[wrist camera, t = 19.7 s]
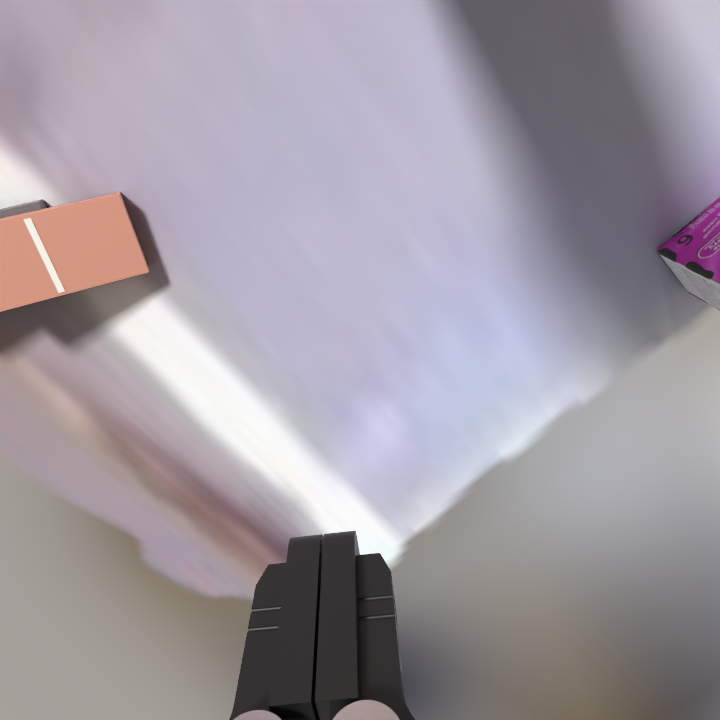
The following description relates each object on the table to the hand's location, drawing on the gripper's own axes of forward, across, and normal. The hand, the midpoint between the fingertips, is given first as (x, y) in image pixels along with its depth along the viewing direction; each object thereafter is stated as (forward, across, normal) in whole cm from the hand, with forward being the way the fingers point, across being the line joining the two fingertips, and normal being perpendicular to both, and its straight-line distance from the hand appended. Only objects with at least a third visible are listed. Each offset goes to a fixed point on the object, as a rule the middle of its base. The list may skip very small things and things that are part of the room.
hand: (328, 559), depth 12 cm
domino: (+26, +14, -3) cm, 30 cm away
